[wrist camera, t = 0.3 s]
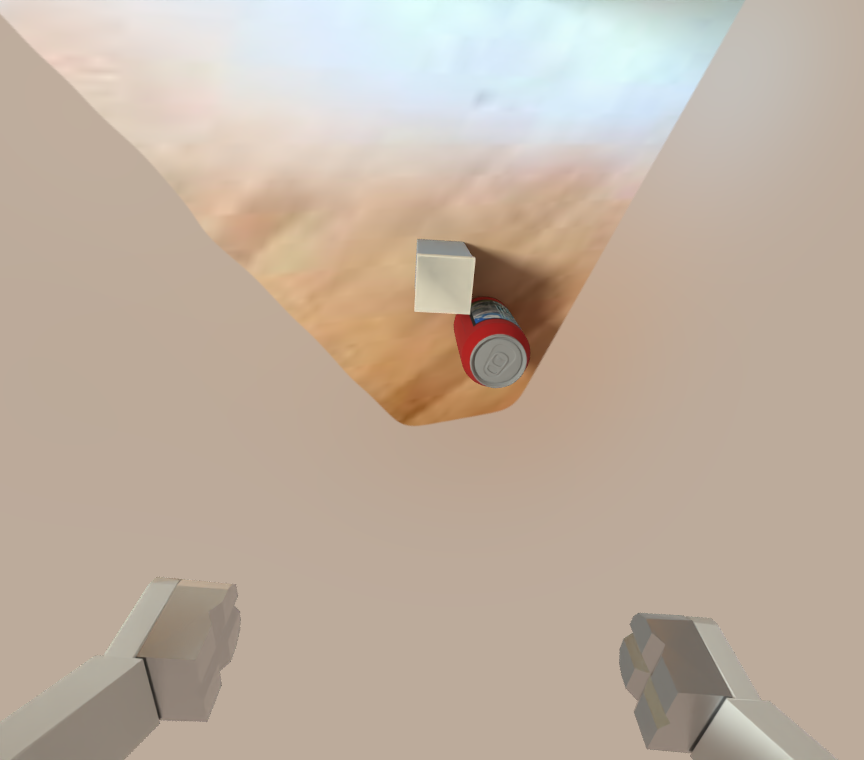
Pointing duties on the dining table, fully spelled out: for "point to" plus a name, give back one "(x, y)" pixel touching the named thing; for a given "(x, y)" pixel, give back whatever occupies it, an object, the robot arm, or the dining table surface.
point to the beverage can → (491, 343)
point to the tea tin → (443, 277)
